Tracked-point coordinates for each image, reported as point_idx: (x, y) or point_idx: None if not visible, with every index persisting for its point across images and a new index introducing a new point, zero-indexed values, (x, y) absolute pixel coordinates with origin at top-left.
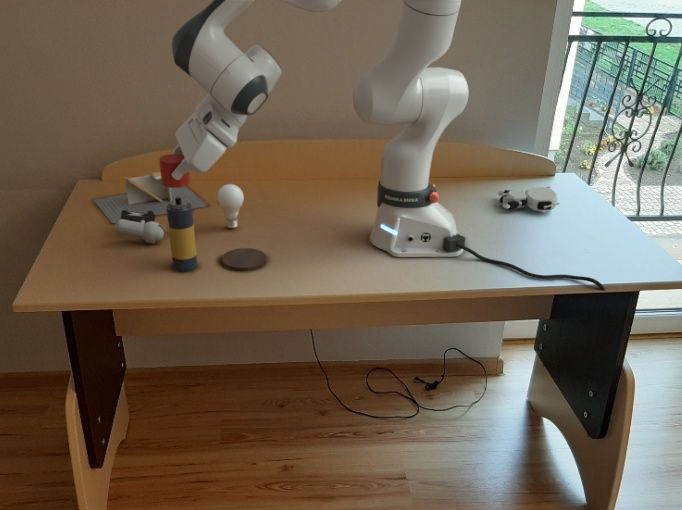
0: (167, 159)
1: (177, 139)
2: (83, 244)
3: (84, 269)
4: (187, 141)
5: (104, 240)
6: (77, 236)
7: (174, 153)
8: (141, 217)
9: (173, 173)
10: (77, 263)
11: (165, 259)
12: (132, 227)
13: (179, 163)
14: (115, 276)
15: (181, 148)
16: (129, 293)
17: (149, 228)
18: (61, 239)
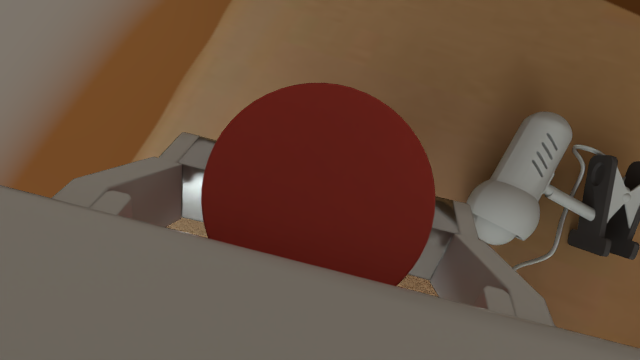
0: (317, 139)
1: (589, 339)
2: (553, 53)
3: (409, 16)
4: (207, 341)
5: (557, 105)
6: (609, 55)
7: (471, 261)
8: (601, 210)
9: (177, 140)
10: (449, 12)
11: None
12: (517, 151)
13: (201, 199)
14: (337, 65)
15: (258, 255)
16: (235, 65)
17: (491, 195)
18: (605, 17)
